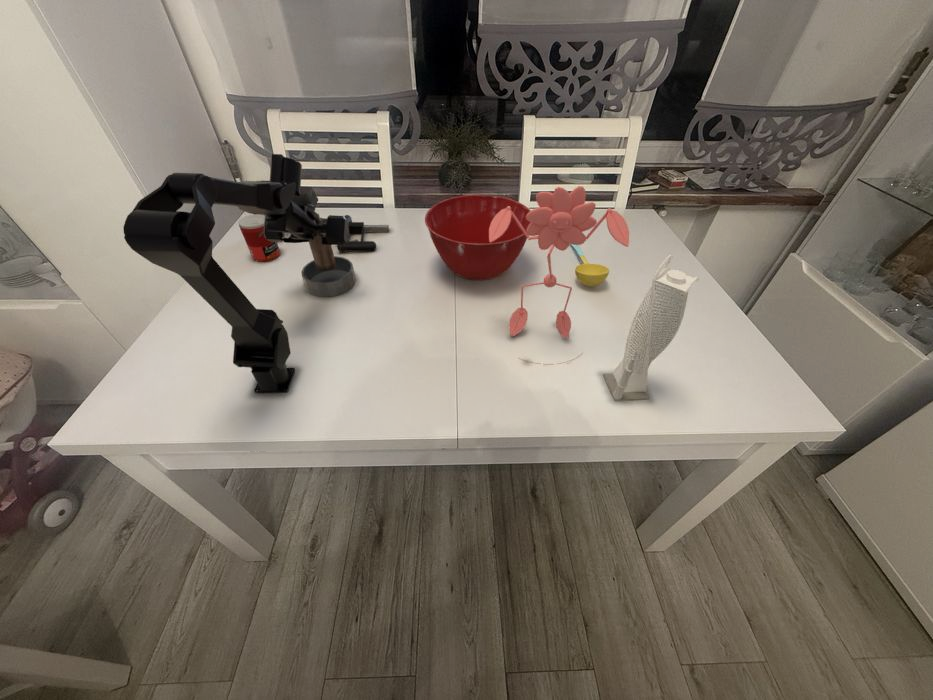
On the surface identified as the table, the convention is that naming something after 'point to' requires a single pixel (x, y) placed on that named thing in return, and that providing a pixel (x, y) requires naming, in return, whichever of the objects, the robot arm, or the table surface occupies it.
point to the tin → (329, 278)
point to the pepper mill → (322, 252)
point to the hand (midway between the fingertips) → (321, 240)
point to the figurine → (557, 237)
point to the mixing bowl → (476, 235)
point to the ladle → (590, 271)
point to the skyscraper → (650, 332)
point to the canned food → (258, 238)
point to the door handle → (360, 229)
